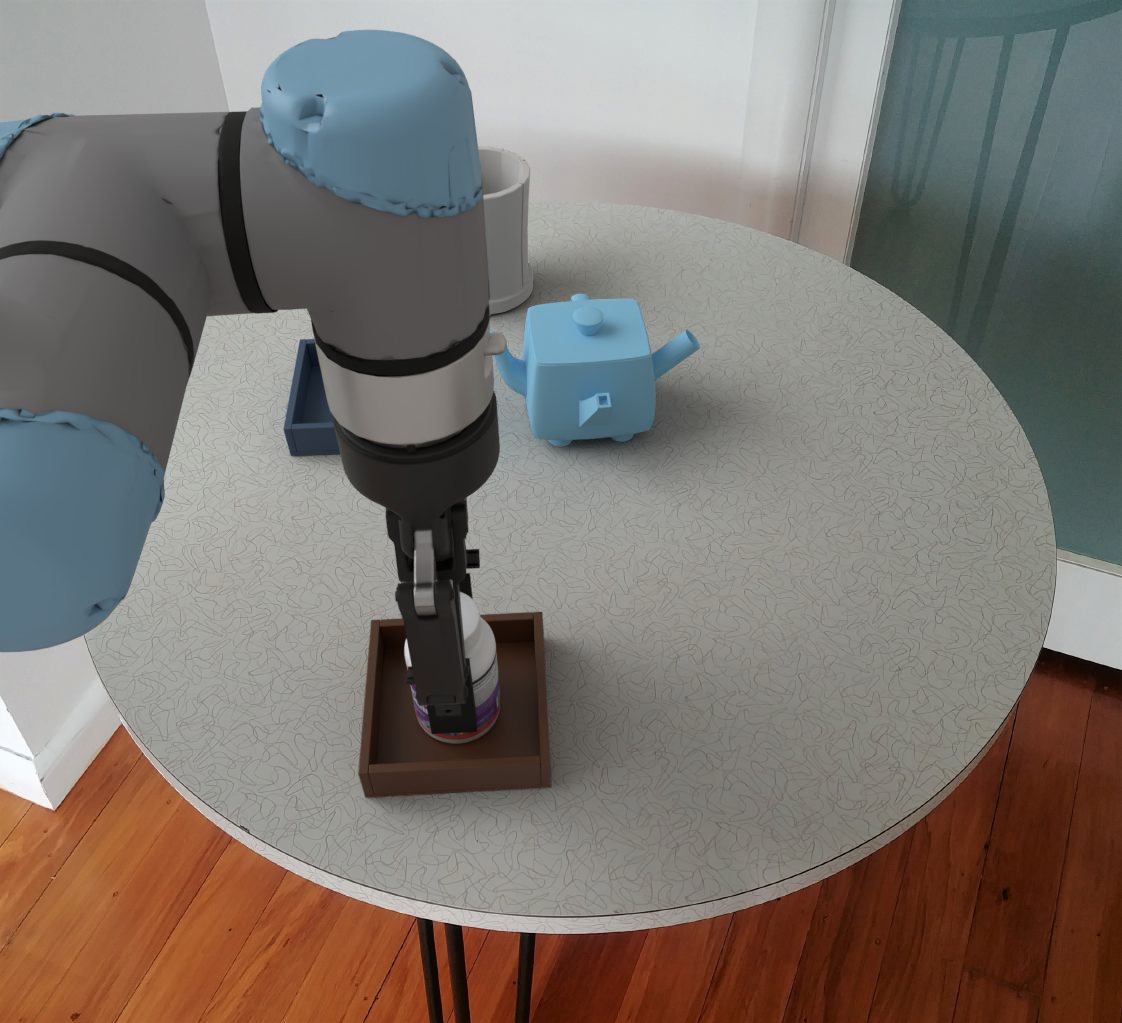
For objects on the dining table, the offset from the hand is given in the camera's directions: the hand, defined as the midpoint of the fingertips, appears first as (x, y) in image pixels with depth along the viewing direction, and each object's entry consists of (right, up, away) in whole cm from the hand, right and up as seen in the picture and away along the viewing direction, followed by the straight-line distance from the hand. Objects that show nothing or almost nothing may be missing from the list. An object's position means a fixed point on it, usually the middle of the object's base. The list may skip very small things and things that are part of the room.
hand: (455, 683), depth 65 cm
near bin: (0, -2, +2) cm, 3 cm away
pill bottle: (0, -2, +2) cm, 3 cm away
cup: (0, +31, +33) cm, 45 cm away
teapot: (+9, +18, +21) cm, 29 cm away
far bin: (-10, +19, +23) cm, 31 cm away
